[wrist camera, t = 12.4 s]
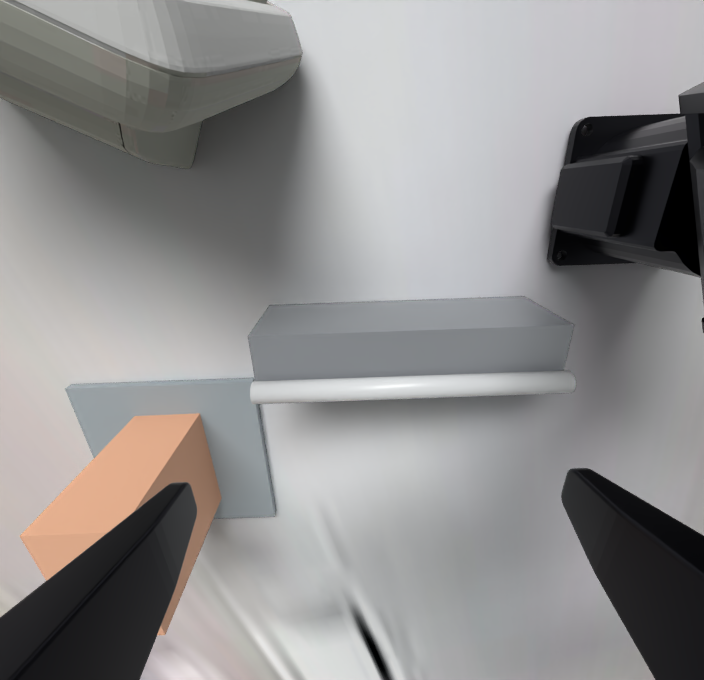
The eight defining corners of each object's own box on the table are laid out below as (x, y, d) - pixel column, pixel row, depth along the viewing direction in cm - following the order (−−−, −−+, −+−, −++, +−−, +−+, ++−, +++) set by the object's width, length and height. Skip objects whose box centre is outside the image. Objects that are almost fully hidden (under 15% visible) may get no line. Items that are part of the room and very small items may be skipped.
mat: (254, 377, 21) (252, 382, 20) (276, 510, 25) (274, 516, 24) (71, 384, 21) (64, 388, 20) (124, 515, 25) (120, 521, 24)
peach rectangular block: (199, 413, 21) (119, 532, 14) (221, 498, 24) (165, 634, 16) (134, 416, 21) (19, 536, 14) (163, 500, 24) (81, 638, 16)
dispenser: (524, 296, 19) (589, 333, 14) (515, 346, 20) (573, 397, 15) (269, 305, 19) (241, 345, 14) (276, 354, 20) (252, 408, 15)
